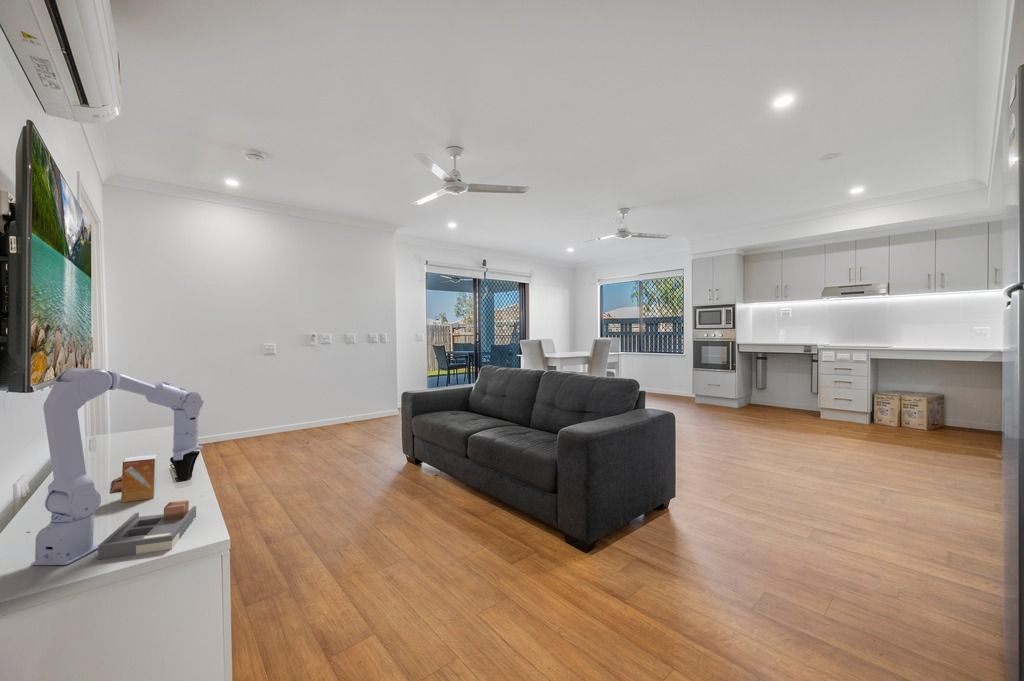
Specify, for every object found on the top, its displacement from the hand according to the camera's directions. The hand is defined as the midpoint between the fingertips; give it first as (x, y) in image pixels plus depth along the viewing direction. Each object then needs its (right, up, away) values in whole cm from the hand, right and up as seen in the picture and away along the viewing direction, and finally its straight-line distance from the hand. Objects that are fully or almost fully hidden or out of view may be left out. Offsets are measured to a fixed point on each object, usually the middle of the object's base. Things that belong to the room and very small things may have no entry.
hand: (184, 478), depth 127 cm
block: (+3, -8, -7) cm, 11 cm away
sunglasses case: (-40, -11, +26) cm, 48 cm away
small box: (-24, -11, +13) cm, 29 cm away
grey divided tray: (+2, -10, -14) cm, 18 cm away
